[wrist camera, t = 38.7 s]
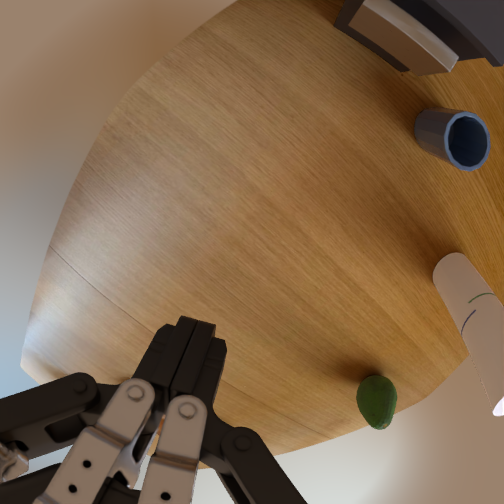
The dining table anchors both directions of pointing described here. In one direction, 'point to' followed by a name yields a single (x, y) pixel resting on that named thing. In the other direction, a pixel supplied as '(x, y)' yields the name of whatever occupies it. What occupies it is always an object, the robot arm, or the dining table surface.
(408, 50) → the plate
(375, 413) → the fruit
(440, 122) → the cup
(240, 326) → the dining table surface
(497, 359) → the cylindrical container
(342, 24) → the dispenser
